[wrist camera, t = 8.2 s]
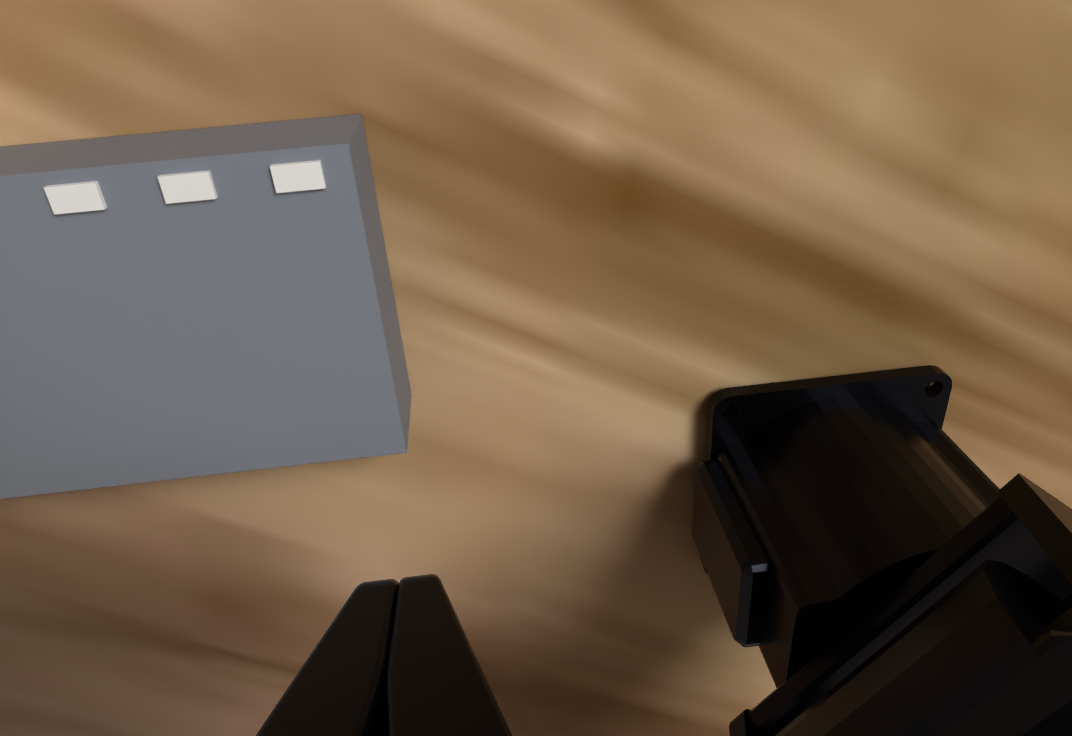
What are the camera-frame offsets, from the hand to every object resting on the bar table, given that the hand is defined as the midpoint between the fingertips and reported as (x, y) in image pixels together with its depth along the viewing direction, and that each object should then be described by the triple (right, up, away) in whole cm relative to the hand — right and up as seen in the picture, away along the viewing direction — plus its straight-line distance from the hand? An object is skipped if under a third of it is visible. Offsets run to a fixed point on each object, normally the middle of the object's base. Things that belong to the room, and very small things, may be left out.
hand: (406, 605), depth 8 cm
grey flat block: (-9, +4, +9) cm, 14 cm away
